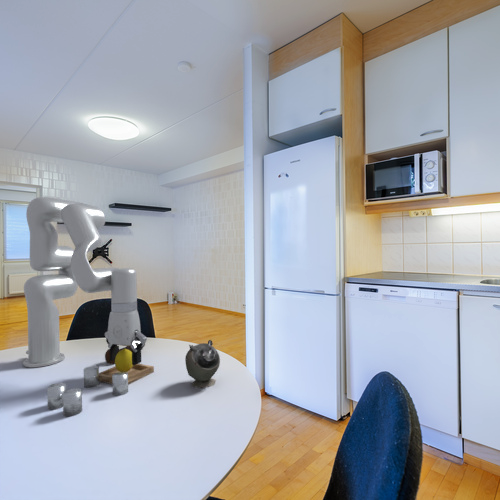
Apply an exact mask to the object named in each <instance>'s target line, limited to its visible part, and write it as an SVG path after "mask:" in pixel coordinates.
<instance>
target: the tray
mask: <svg viewBox="0 0 500 500" xmlns="http://www.w3.org/2000/svg"><path fill="white" fill-rule="evenodd" d="M154 370H155V367H154V366H153V365H150V364H149V365H147V364H142V363H138V364H136V365H133V366H132V368H131V369H130V370H129V371H127V373H128V386H129V385H130V384H132V383H134V382H137V381H138V380H140V379H143V378H144V377H147V376H149V375H150V374H153V373H155V371H154ZM118 372H119V371H118V370H117V369H116V367H115V366H112V367H110V368H108V369H105V370H103V371H101V372H100V371H99V382H102V383H106V384H110V385H111V384H112V375H113V374H115V373H118Z"/></svg>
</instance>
